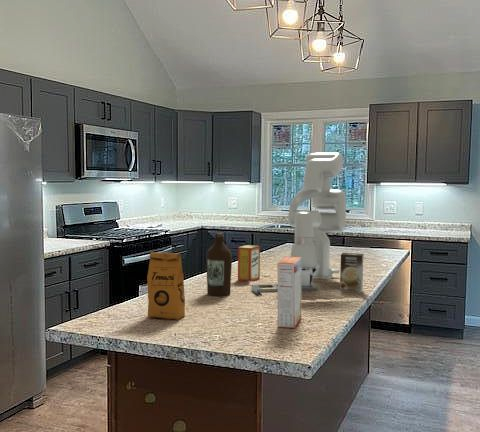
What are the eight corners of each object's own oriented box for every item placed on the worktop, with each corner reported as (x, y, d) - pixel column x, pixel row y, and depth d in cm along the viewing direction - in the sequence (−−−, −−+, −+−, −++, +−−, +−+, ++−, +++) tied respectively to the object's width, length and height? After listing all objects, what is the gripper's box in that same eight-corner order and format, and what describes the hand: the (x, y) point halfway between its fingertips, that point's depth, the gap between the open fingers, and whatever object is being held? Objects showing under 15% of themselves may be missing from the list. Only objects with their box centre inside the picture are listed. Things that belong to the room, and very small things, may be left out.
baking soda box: (250, 281, 245) (250, 247, 244) (237, 280, 248) (238, 246, 247) (259, 278, 253) (259, 245, 252) (247, 277, 256) (247, 244, 255)
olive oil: (211, 290, 224) (211, 231, 223) (235, 292, 221) (235, 232, 219) (202, 295, 214) (202, 233, 212) (226, 297, 211) (227, 234, 209)
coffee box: (339, 292, 223) (339, 254, 222) (341, 289, 229) (342, 252, 228) (361, 293, 220) (362, 255, 219) (363, 290, 226) (363, 253, 225)
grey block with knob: (306, 287, 227) (306, 267, 226) (309, 289, 222) (310, 269, 222) (296, 287, 226) (296, 268, 225) (299, 289, 222) (299, 269, 221)
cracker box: (284, 316, 181) (285, 255, 180) (301, 318, 179) (302, 256, 178) (275, 327, 168) (276, 261, 166) (294, 329, 166) (295, 262, 165)
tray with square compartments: (310, 288, 230) (310, 282, 230) (318, 293, 220) (318, 287, 220) (251, 290, 225) (251, 284, 225) (257, 295, 215) (257, 289, 215)
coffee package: (177, 322, 173) (177, 255, 172) (143, 319, 177) (143, 253, 175) (189, 315, 183) (189, 251, 181) (156, 312, 186) (156, 249, 185)
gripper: (319, 239, 228) (319, 281, 229) (281, 240, 225) (281, 283, 226) (325, 241, 221) (325, 285, 222) (286, 242, 218) (286, 286, 219)
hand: (303, 283), depth 224 cm, fingers closed on grey block with knob, 4 cm apart
